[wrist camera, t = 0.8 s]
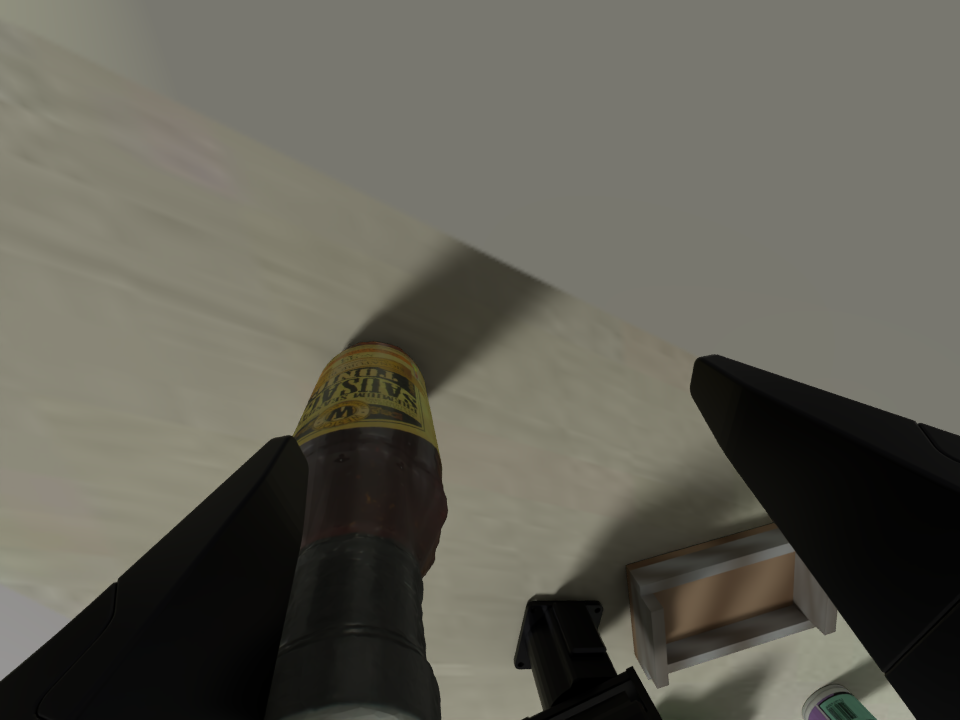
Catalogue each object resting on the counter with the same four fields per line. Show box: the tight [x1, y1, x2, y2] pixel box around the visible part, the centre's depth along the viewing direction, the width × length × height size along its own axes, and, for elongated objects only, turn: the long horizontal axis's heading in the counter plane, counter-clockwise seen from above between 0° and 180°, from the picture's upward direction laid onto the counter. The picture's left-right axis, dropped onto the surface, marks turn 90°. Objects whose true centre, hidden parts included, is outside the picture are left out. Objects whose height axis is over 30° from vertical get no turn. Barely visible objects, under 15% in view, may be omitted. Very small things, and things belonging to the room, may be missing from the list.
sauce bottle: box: [264, 341, 448, 720], centre depth 16 cm, size 6×6×20 cm
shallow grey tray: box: [626, 523, 837, 689], centre depth 34 cm, size 16×10×4 cm, turn 101°
